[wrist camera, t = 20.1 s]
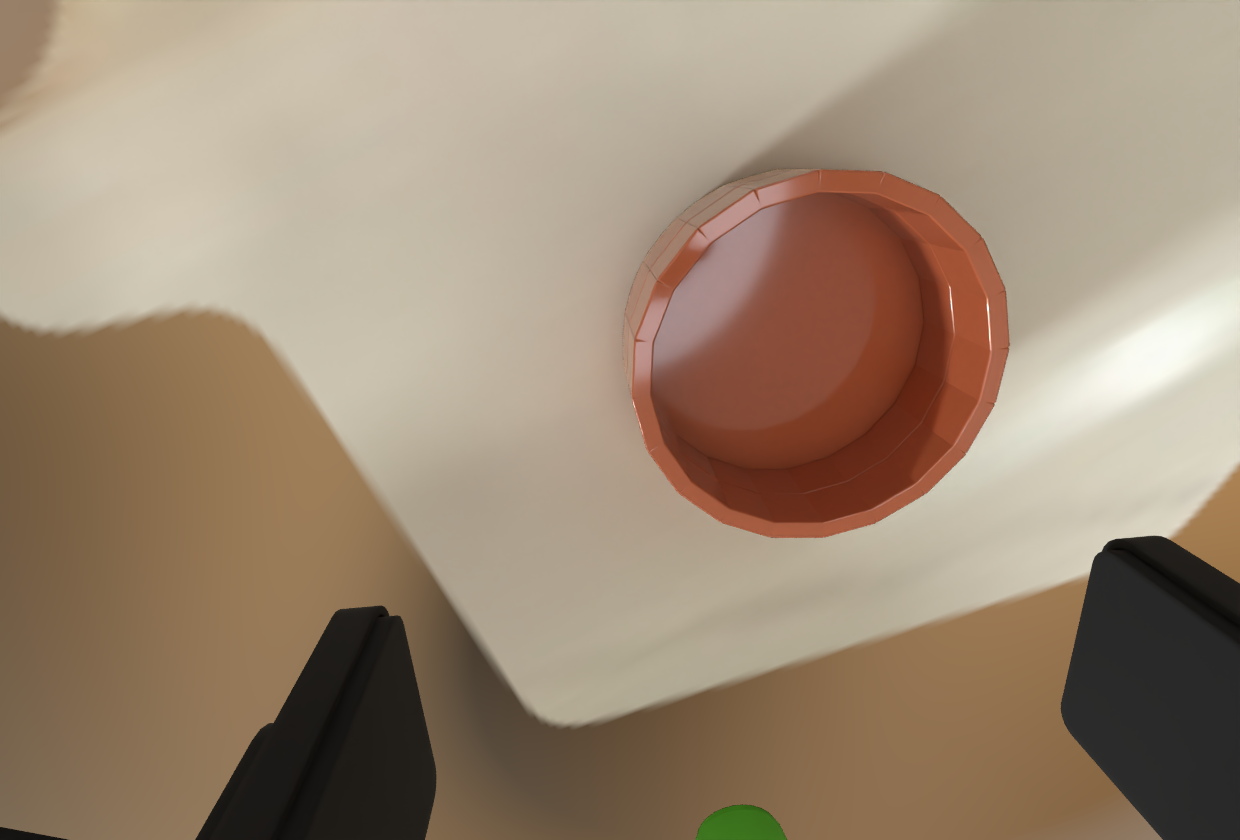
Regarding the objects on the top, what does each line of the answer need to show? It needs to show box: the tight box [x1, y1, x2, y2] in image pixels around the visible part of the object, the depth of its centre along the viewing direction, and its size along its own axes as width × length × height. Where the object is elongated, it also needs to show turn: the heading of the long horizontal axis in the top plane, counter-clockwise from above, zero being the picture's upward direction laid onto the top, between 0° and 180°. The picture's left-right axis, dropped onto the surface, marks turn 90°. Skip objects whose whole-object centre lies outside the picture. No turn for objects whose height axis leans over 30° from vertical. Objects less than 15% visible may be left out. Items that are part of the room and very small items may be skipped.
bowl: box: [623, 169, 1010, 538], centre depth 26 cm, size 13×13×6 cm
